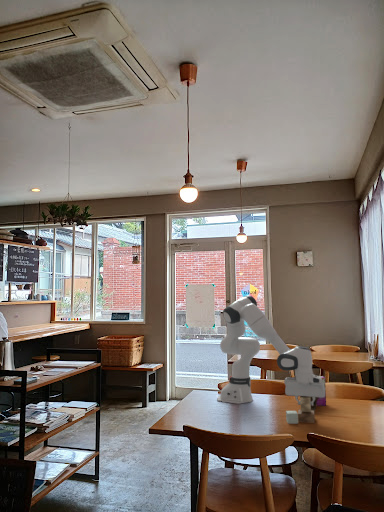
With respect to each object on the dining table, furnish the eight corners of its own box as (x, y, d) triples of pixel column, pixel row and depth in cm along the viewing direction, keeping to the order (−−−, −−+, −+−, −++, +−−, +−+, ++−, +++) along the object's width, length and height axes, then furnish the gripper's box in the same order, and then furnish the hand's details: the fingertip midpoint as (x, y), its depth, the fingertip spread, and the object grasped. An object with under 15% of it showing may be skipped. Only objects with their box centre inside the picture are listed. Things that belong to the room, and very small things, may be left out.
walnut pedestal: (298, 421, 197) (297, 413, 197) (298, 417, 204) (298, 409, 205) (314, 423, 194) (314, 414, 195) (314, 418, 202) (314, 410, 202)
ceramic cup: (304, 405, 227) (303, 388, 228) (321, 408, 221) (320, 390, 223) (296, 410, 217) (295, 392, 218) (314, 413, 211) (313, 394, 212)
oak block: (300, 411, 198) (300, 397, 199) (301, 408, 203) (300, 395, 204) (310, 412, 197) (310, 398, 198) (310, 409, 202) (310, 395, 202)
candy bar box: (307, 405, 226) (306, 377, 228) (305, 403, 231) (304, 375, 233) (326, 406, 225) (325, 377, 227) (324, 403, 230) (323, 375, 232)
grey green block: (288, 423, 194) (287, 413, 195) (286, 420, 199) (285, 410, 200) (298, 423, 194) (297, 413, 195) (296, 420, 199) (295, 410, 200)
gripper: (283, 378, 202) (284, 405, 200) (324, 379, 196) (326, 407, 194) (284, 375, 208) (285, 402, 206) (324, 377, 202) (325, 404, 200)
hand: (305, 405), depth 200 cm, fingers closed on oak block, 5 cm apart
